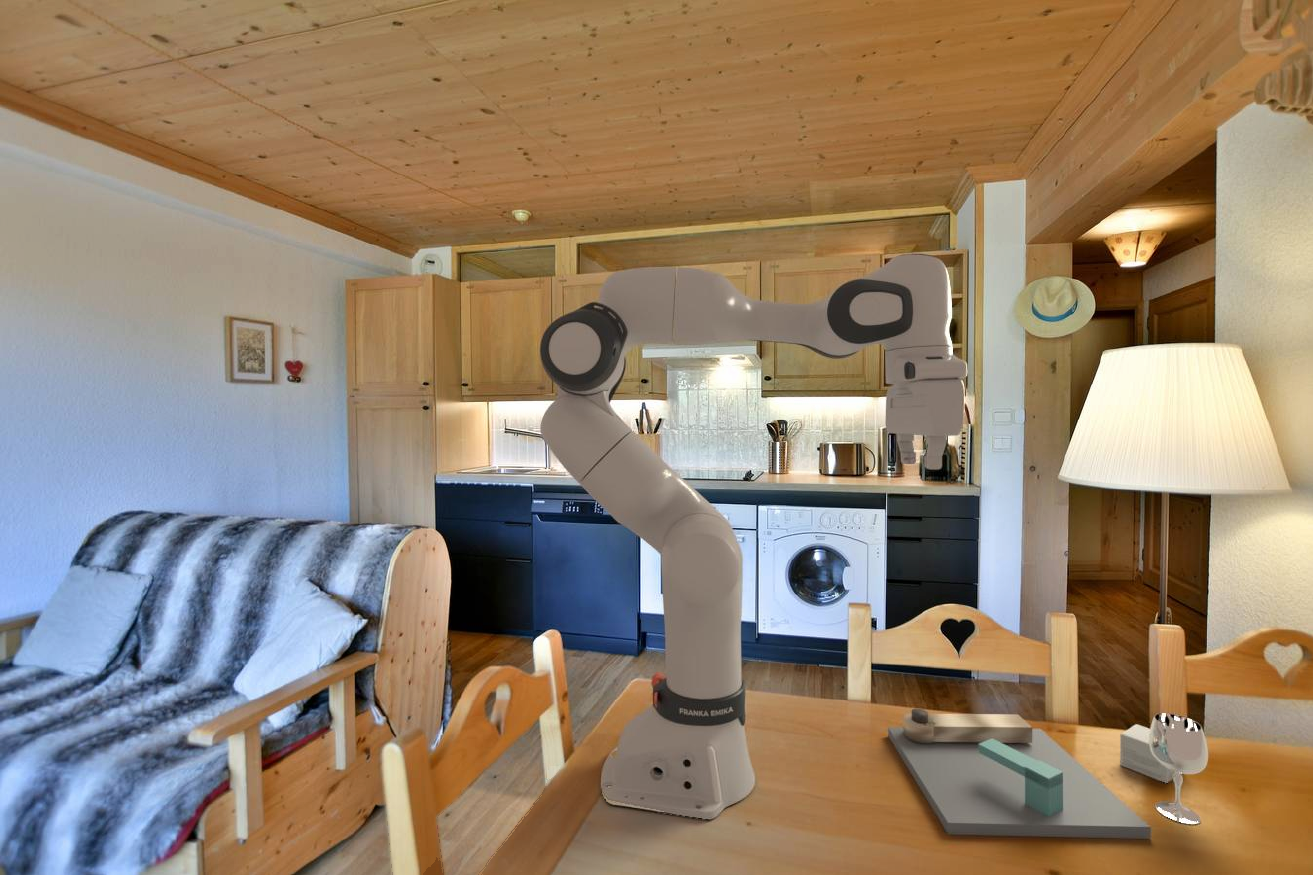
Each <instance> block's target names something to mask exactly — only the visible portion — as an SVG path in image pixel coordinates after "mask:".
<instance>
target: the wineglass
mask: <svg viewBox="0 0 1313 875" xmlns="http://www.w3.org/2000/svg"><path fill="white" fill-rule="evenodd" d="M1149 729H1150V732H1149V747H1150V751H1151V753H1152V755H1153V757H1154V758H1155V759H1156V760H1157V761H1158V762H1159V763H1160V764H1161V765H1163V766H1164V767H1166V768H1168V769H1170V770H1172V771H1174V773H1173V779H1172V781H1173V783H1174V789H1175V790H1174V791H1175V794H1174V795H1175V796H1174V797H1175V799H1174V802H1172V801H1167V800H1166V801H1165V800H1164V801H1163V800H1162V801H1158V802H1156V803H1155V805H1154V806H1155V809H1156V810H1157V812H1159V813H1160V814H1161V815H1162V816H1164V817H1166V818H1167V817H1168V818H1167V819H1169V818H1170V819H1169V820H1171V819H1172V821H1174V822H1176V821H1177V823H1179V822H1181V823H1180V824H1185V825H1189V824H1190V825H1193V826H1194V825H1195V824H1196V825H1198V824H1201V822H1202V818H1201V817H1200V815H1199V814H1198V813H1197V812H1196V811H1195V810H1192V809H1191V808H1190V807H1187V806H1185V805H1183V804H1182V803H1181V788H1182V784H1183V781H1184V778H1183V775H1196V774H1199V773H1201V772H1202V771H1204V770H1205V768H1206V767H1207V765H1208V761H1209V750H1208V744H1207V740H1206V736H1205V733H1204V730H1203V727H1202V725H1201V724H1200V723H1199V722H1197V721H1195V720H1193V719H1192V718H1188V717H1186V716H1182V715H1179V714H1175V713H1174V714H1173V713H1168V712H1167V713H1165V712H1162V713H1161V712H1160V713H1159V712H1158V713H1156V714H1155V715H1154V716H1153V718H1152V722H1151V724H1150V728H1149ZM1196 825H1195V826H1196Z"/></svg>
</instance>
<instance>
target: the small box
mask: <svg viewBox="0 0 1313 875" xmlns="http://www.w3.org/2000/svg"><path fill="white" fill-rule="evenodd" d="M1149 732H1150V728H1148V727H1146V726H1143V725H1140V724H1136V723H1135V724H1134V725H1132V726H1131V727H1130V728H1128V729H1127V730H1125V731H1123V732H1122V733H1120V736H1119V737H1120V746H1119V747H1120V751H1119V752H1120V756H1119V758H1120V759H1119V764H1120V766H1122V767H1125V768H1127V769H1129V770H1132V771H1134V772H1137V773H1139V774H1142V775H1145V777H1146V776H1147V777H1149V778H1151V779H1154V780H1156V781H1159V782H1161V781H1162V783H1163V782H1165V783H1164V784H1166V783H1168V782H1169V781H1170V782H1171V781H1173V773H1174V771H1172V770H1170V769H1168V768H1166V767H1164V766H1163V765H1161V764H1160V763H1159V762H1158V761H1157V760H1156V759H1155V758H1154V757H1153V755H1152V753H1151V751H1150V747H1149ZM1170 782H1169V783H1170ZM1169 783H1168V784H1169Z"/></svg>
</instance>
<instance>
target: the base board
mask: <svg viewBox="0 0 1313 875" xmlns="http://www.w3.org/2000/svg"><path fill="white" fill-rule="evenodd" d="M887 734H888V736H887V737H888V738H889V740H890V742H891V743H892V744H893V747H894V748H895V750H896V751H897V753H898V755H899V756H900V758H901V760H902V761H903V763H904V764H905V766H906V767H907V769H908V771H909V772H910V774H911V776H912V777H913V779H914V781H915V782H916V784H917V786H918V787H919V789H920V791H921V792H922V794H923V796H924V797H925V799H926V800H927V802H928V804H929V806H930V807H931V809H932V810H933V812H934V814H935V815H936V817H937V819H938V820H939V822H940V823H941V825H942V827H943V829H944V830H945V832H946V833H947V835H948V836H949V835H952V836H955V835H956V836H957V835H958V836H989V837H990V836H991V837H993V836H996V837H997V836H999V837H1002V836H1003V837H1009V836H1010V837H1039V838H1040V837H1047V838H1087V839H1091V838H1092V839H1127V840H1128V839H1130V840H1131V839H1137V840H1138V839H1139V840H1151V835H1152V834H1151V831H1152V830H1151V829H1152V828H1151V826H1150V825H1149V824H1148V823H1147V822H1146V821H1145V820H1144V819H1143V818H1141V817H1140V816H1139V815H1138V814H1137V813H1135V811H1133V810H1132V809H1131V808H1130V807H1129V806H1128V805H1127V804H1126V803H1125V802H1123V801H1122V800H1121V799H1120V798H1119V797H1117V796H1116V795H1115V794H1114V793H1113V792H1112V791H1111V790H1110V789H1109V788H1107V787H1106V786H1105V785H1104V784H1103V783H1102V782H1101V781H1100V780H1099V779H1098V778H1096V777H1095V776H1094V775H1093V774H1092V773H1091V772H1089V770H1087V769H1086V768H1085V766H1084V765H1082V764H1081V763H1080V762H1079V761H1077V760H1076V759H1075V758H1074V757H1073V756H1072V755H1070V754H1069V753H1068V751H1066V750H1065V749H1064V748H1063V747H1062V746H1060V745H1059V743H1057V742H1056V741H1055V740H1053V738H1052V737H1050V736H1049V735H1048V733H1046V732H1045V731H1044V730H1042V729H1041V728H1032V743H1003V744H1005V745H1007V746H1009V747H1011V748H1013V749H1015V750H1017V751H1019V752H1021V753H1023V754H1025V755H1027V756H1029V757H1031V758H1033V759H1035V760H1037V761H1038V760H1040V761H1042V762H1044V763H1046V764H1048V765H1050V766H1052V767H1054V768H1056V769H1058V770H1060V771H1062V772H1063V810H1061V811H1059V812H1057V813H1056V814H1054V815H1052V816H1050V817H1048V816H1047V815H1045V814H1043V813H1041V812H1040V811H1038V810H1036V809H1034V808H1033V807H1031V806H1029V805H1027V804H1025V777H1024V776H1022V775H1020V774H1018V773H1017V772H1015V771H1013V770H1011V769H1009V768H1007V767H1005V766H1003V765H1001V764H1000V763H998V762H996V761H994V760H992V759H990V758H988V757H986V756H984V755H983V754H981V753H979V752H978V744H979V743H982V742H932V743H920V742H916V741H913V740H911V739H909V738H908V737H906V736H905V734H904V726H903V727H902V726H901V727H900V726H898V727H895V726H894V727H893V726H891V727H890V726H889V727H887Z"/></svg>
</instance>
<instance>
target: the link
mask: <svg viewBox="0 0 1313 875" xmlns="http://www.w3.org/2000/svg"><path fill="white" fill-rule="evenodd" d="M903 727H904V734H905V736H906V737H908V738H909V739H911V740H913V741H916V742H920V743H932V742H984V741H987V740H989V739H994V740H996V741H999V742H1001V743H1032V729H1033V726H1031V725H1030V724H1029V723H1028V722H1027V721H1026V720H1025V719H1023V717H1021V715H1019V714H1017V713H1015V714H1012V713H1011V714H1010V713H1009V714H1006V713H1002V714H1001V713H1000V714H999V713H991V714H989V713H929V712H928V711H927V710H925V709H922V708H913V709H911V712H908V713H904V714H903Z"/></svg>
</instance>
